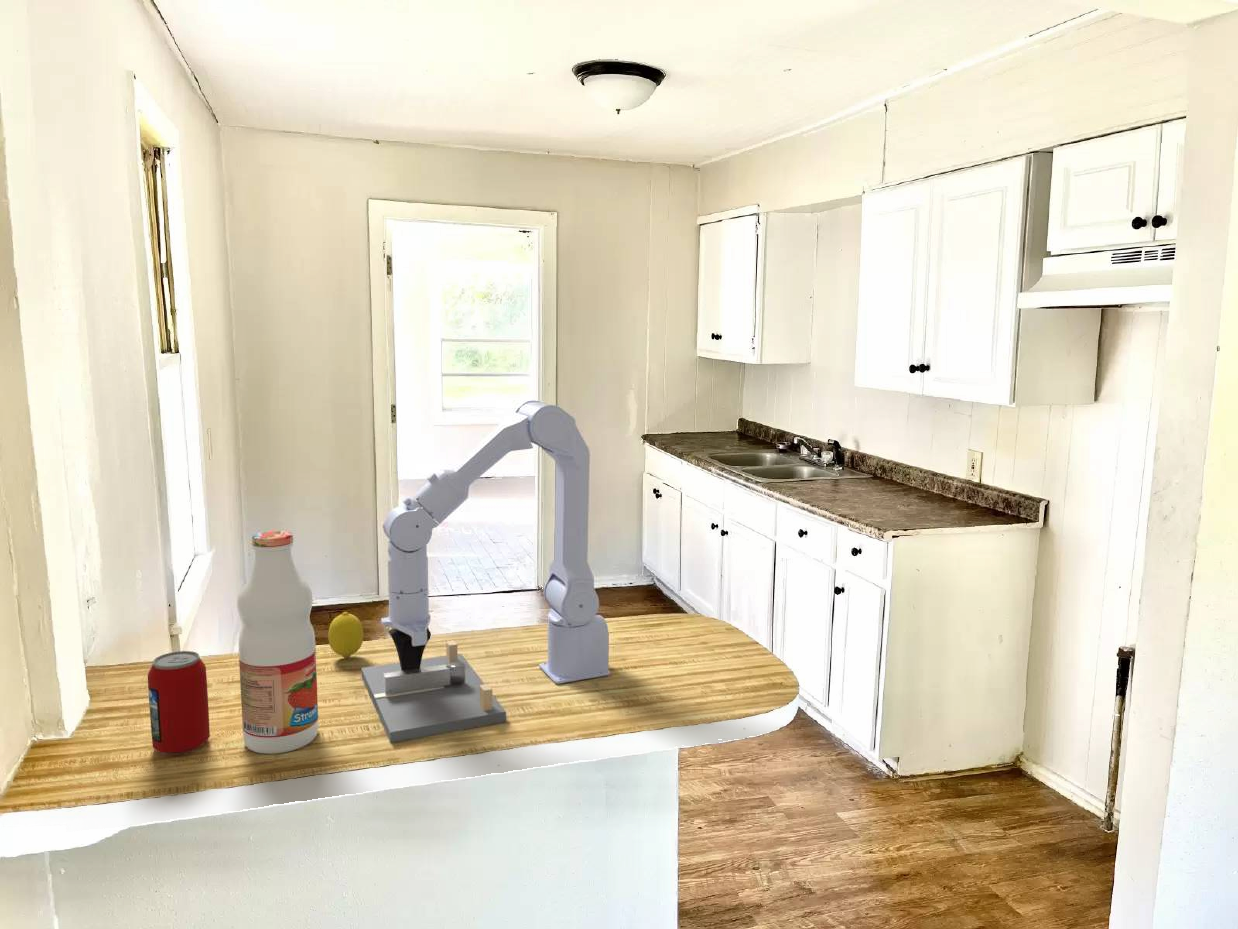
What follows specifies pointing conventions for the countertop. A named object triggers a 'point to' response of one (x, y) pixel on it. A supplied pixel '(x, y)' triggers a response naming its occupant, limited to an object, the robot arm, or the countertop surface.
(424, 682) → the lock bar
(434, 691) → the plate
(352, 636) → the lemon
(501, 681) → the countertop surface
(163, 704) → the beverage can
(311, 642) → the fruit juice
